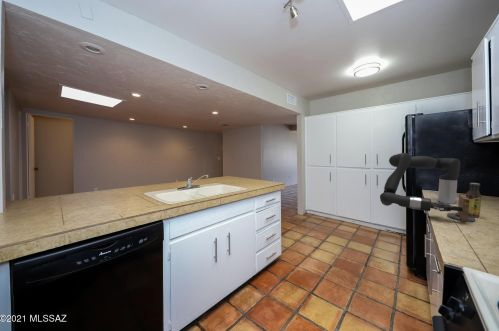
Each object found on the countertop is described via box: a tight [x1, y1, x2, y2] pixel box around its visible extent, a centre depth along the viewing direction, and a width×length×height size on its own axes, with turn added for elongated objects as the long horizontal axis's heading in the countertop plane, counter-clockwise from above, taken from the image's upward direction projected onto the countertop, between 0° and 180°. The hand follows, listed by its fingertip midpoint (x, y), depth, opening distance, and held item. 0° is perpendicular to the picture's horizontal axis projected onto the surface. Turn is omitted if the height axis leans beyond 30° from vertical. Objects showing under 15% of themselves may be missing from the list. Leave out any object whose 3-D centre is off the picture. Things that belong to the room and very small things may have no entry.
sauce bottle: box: [465, 182, 482, 218], centre depth 112 cm, size 6×6×20 cm
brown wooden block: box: [454, 193, 469, 223], centre depth 105 cm, size 13×4×12 cm, turn 139°
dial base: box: [446, 212, 476, 223], centre depth 109 cm, size 11×11×1 cm
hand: (462, 209), depth 102 cm, fingers closed
